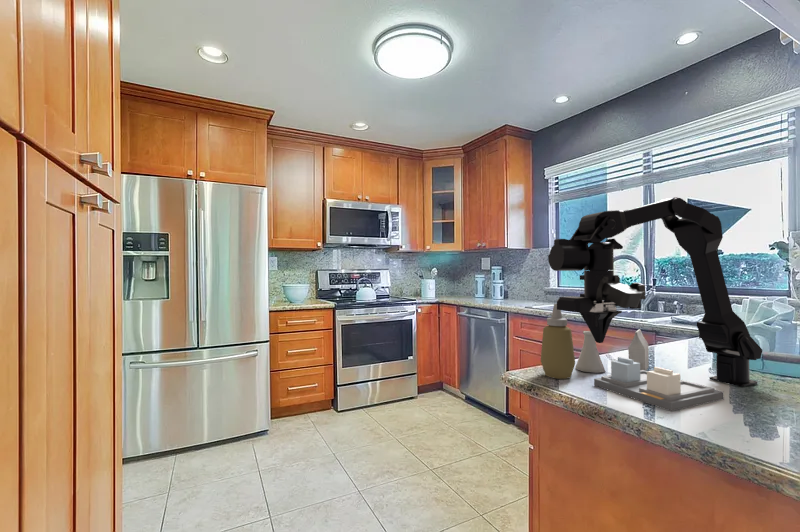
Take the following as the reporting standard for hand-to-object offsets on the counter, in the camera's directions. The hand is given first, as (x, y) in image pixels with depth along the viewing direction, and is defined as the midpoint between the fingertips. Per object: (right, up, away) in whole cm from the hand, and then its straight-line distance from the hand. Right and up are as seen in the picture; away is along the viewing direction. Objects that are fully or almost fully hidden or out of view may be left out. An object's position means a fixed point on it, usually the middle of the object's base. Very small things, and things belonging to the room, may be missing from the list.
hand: (599, 342), depth 82 cm
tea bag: (+20, -11, +19) cm, 30 cm away
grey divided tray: (+12, -11, 0) cm, 16 cm away
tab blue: (+7, -9, +3) cm, 12 cm away
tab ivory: (+10, -9, -6) cm, 14 cm away
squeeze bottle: (-4, -11, +12) cm, 17 cm away
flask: (+7, -11, +18) cm, 22 cm away
